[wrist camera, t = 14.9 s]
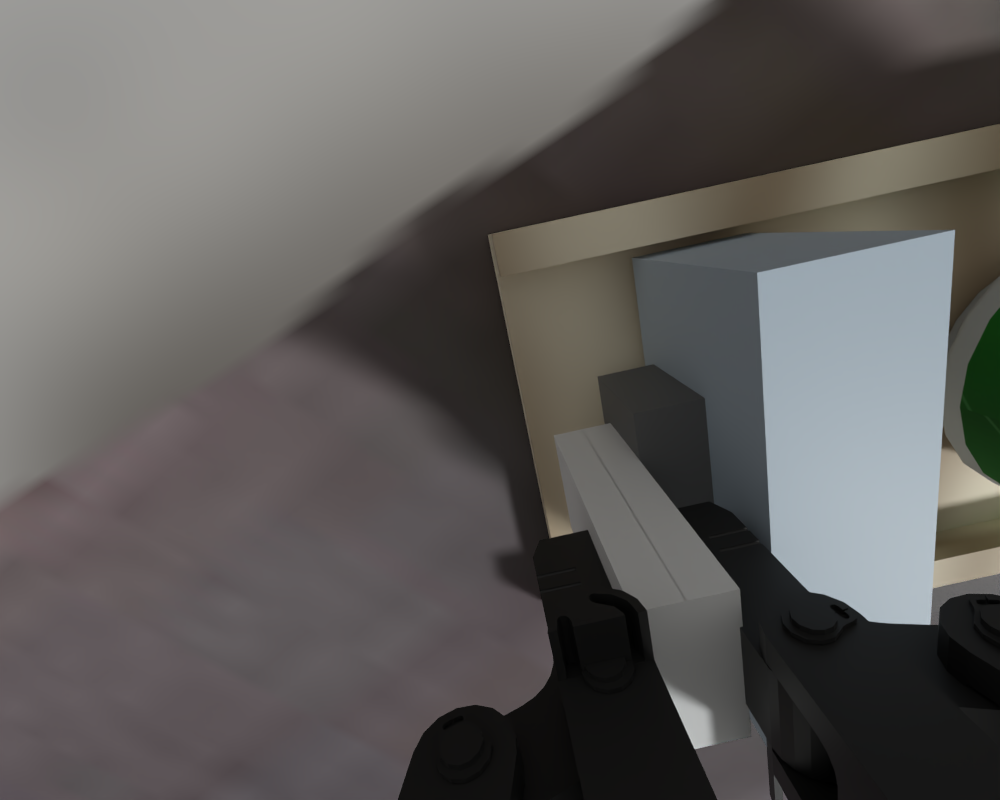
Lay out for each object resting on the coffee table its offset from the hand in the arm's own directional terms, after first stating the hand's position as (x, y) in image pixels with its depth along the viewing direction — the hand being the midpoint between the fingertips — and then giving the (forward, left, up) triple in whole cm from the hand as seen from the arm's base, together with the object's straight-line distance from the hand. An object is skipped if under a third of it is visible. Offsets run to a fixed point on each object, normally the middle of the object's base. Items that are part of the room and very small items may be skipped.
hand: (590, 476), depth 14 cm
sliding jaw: (+3, 0, -2) cm, 4 cm away
